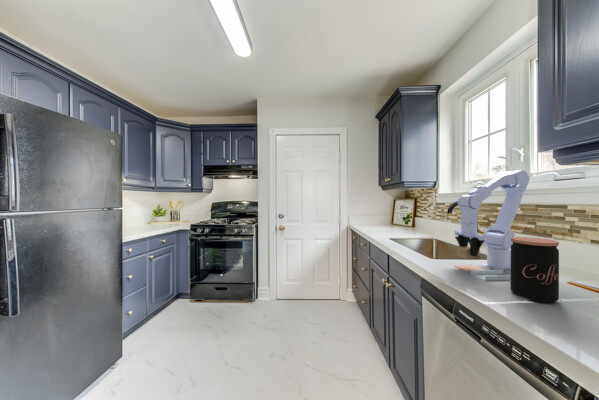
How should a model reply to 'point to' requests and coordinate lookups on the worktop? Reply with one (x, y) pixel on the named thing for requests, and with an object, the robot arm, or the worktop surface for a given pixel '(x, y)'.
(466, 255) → the walnut block
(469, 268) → the terracotta tile
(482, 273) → the acrylic channel
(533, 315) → the worktop surface
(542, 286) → the coffee jar
